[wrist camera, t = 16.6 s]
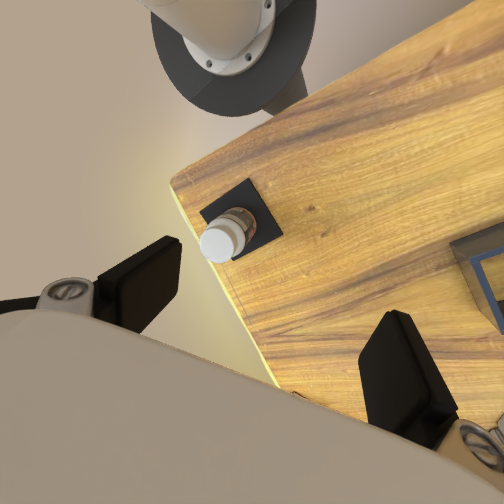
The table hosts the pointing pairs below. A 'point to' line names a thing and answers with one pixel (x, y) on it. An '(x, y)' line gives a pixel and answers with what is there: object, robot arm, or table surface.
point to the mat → (252, 202)
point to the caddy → (468, 258)
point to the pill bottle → (227, 235)
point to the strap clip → (499, 431)
